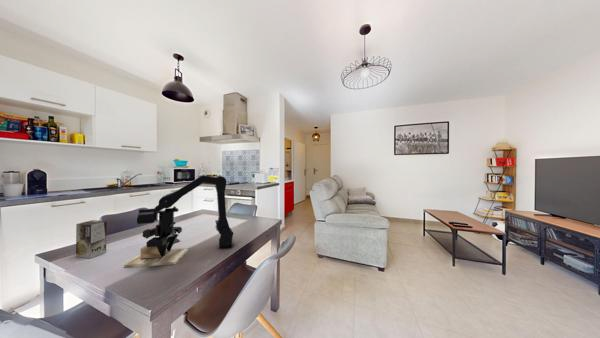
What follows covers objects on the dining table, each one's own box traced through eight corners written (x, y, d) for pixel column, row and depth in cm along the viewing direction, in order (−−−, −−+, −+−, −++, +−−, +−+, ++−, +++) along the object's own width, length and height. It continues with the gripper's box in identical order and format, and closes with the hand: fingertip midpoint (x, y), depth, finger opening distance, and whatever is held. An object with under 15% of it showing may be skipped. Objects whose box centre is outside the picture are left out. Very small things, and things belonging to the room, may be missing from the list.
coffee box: (107, 252, 89) (107, 220, 89) (90, 258, 83) (91, 224, 83) (92, 250, 90) (93, 219, 90) (74, 257, 84) (75, 223, 84)
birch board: (187, 250, 92) (187, 248, 92) (175, 264, 79) (175, 261, 79) (144, 253, 88) (144, 251, 88) (123, 267, 76) (123, 265, 76)
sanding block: (166, 253, 87) (166, 243, 87) (159, 258, 82) (160, 247, 82) (147, 254, 85) (148, 244, 85) (140, 259, 80) (140, 248, 80)
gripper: (159, 216, 92) (158, 246, 92) (132, 228, 74) (131, 265, 74) (182, 216, 94) (181, 244, 94) (162, 227, 76) (161, 263, 76)
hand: (165, 253), depth 84 cm, fingers closed on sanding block, 5 cm apart
